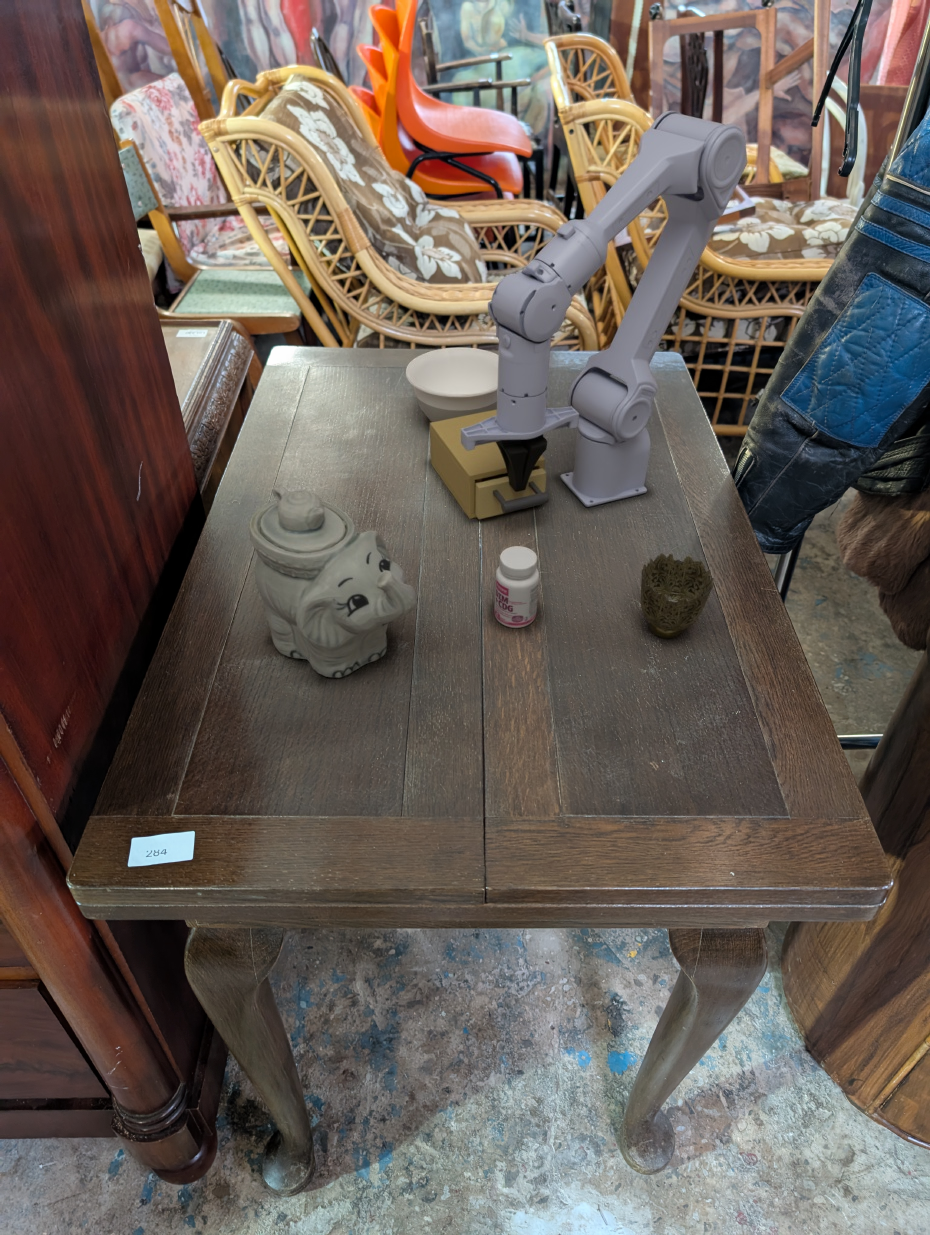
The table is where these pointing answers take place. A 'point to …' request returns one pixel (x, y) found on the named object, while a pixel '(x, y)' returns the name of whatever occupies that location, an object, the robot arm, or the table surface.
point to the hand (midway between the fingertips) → (517, 487)
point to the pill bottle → (516, 587)
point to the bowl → (454, 382)
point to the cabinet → (465, 458)
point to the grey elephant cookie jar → (325, 583)
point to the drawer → (508, 494)
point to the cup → (673, 593)
